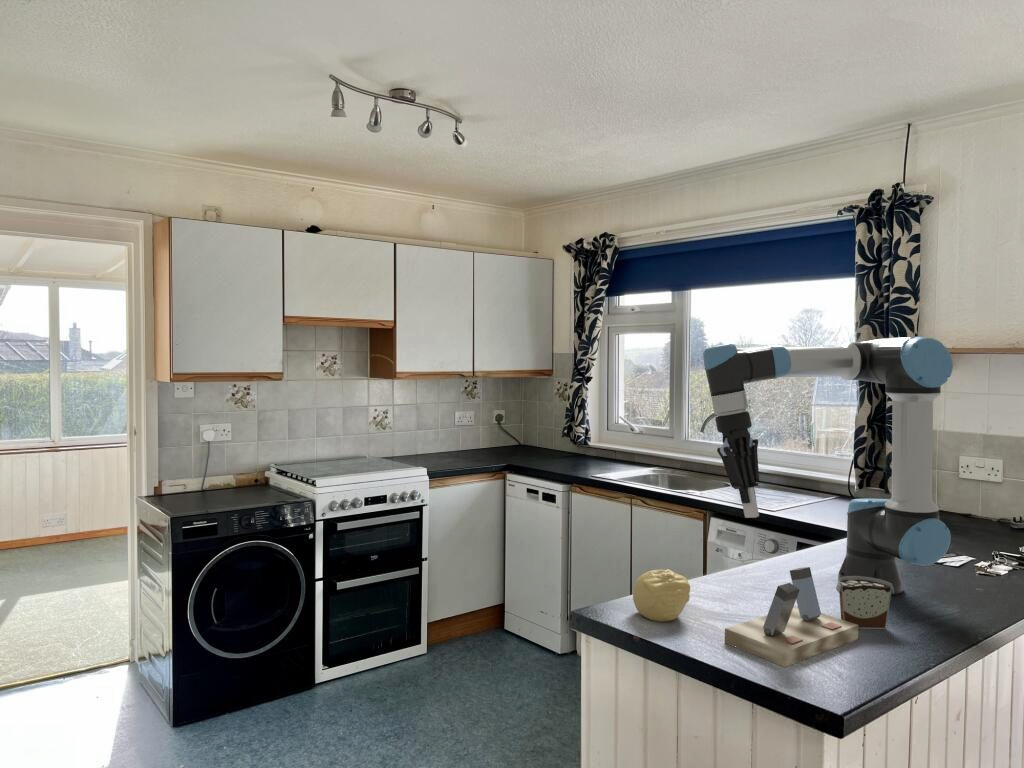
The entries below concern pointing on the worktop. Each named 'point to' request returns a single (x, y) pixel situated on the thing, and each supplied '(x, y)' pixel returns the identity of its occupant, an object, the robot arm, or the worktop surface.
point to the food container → (864, 601)
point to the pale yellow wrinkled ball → (661, 594)
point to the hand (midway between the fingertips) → (752, 516)
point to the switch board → (792, 637)
